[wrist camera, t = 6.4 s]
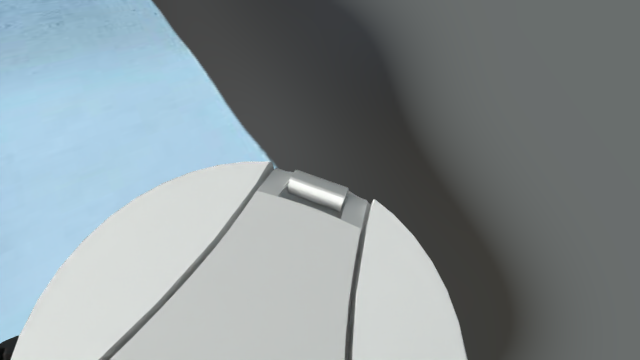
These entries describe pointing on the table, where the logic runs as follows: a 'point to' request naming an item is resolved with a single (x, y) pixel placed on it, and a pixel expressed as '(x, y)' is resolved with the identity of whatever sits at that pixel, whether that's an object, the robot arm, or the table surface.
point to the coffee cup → (246, 278)
